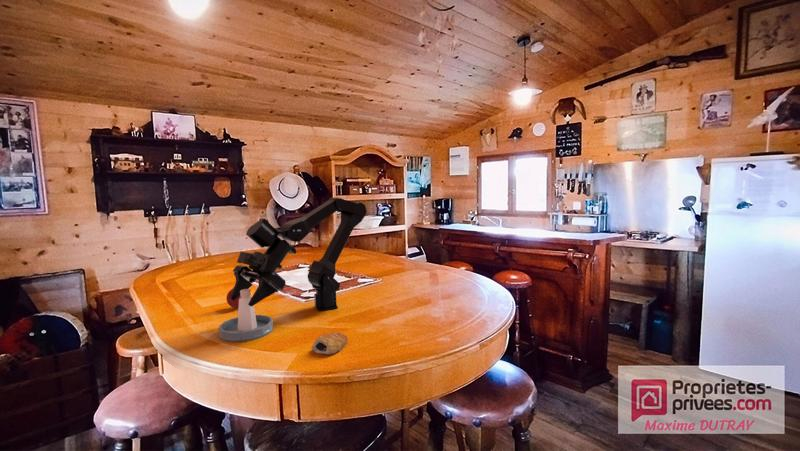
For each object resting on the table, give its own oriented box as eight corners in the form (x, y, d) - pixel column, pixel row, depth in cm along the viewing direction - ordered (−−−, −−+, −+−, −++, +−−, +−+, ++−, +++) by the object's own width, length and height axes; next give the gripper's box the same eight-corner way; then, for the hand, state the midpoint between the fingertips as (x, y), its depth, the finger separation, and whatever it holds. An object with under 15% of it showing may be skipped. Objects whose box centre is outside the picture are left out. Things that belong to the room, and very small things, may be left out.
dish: (271, 320, 114) (270, 312, 114) (275, 336, 101) (274, 327, 101) (220, 327, 109) (220, 319, 109) (218, 345, 96) (217, 336, 96)
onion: (238, 311, 122) (237, 288, 122) (223, 310, 124) (221, 287, 123) (249, 306, 128) (248, 283, 127) (234, 305, 129) (233, 282, 129)
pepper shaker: (233, 328, 105) (231, 290, 104) (251, 323, 109) (249, 286, 108) (242, 333, 101) (240, 293, 100) (261, 327, 105) (259, 289, 104)
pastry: (333, 338, 100) (333, 325, 99) (354, 343, 97) (354, 329, 96) (309, 352, 92) (309, 337, 91) (331, 358, 88) (331, 342, 88)
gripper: (237, 238, 111) (201, 282, 104) (274, 243, 100) (237, 292, 92) (262, 259, 118) (230, 302, 111) (299, 266, 107) (267, 314, 99)
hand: (240, 302), depth 103 cm, fingers open, 9 cm apart
